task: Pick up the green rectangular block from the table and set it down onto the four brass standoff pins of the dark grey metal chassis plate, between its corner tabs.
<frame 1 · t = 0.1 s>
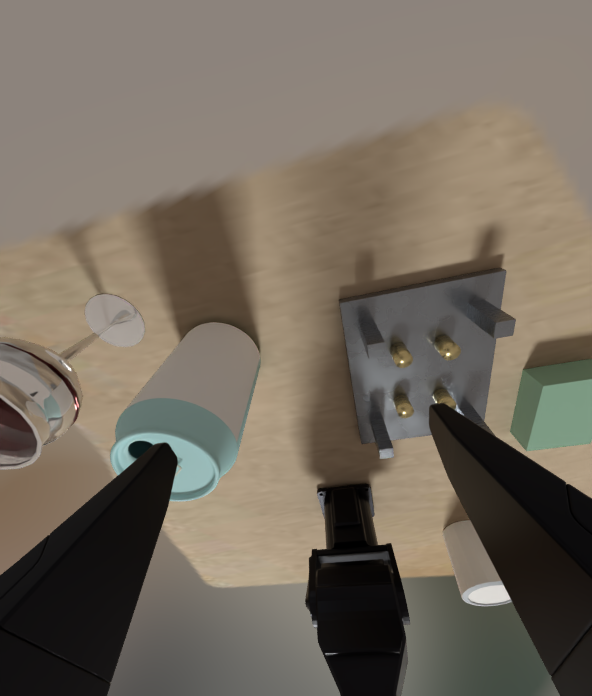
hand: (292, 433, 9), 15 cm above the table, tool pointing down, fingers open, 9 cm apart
green rectangular block: (544, 396, 27), on the table
can: (223, 353, 25), on the table
wineglass: (116, 320, 24), on the table
chassis: (417, 368, 25), on the table
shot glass: (463, 529, 39), on the table
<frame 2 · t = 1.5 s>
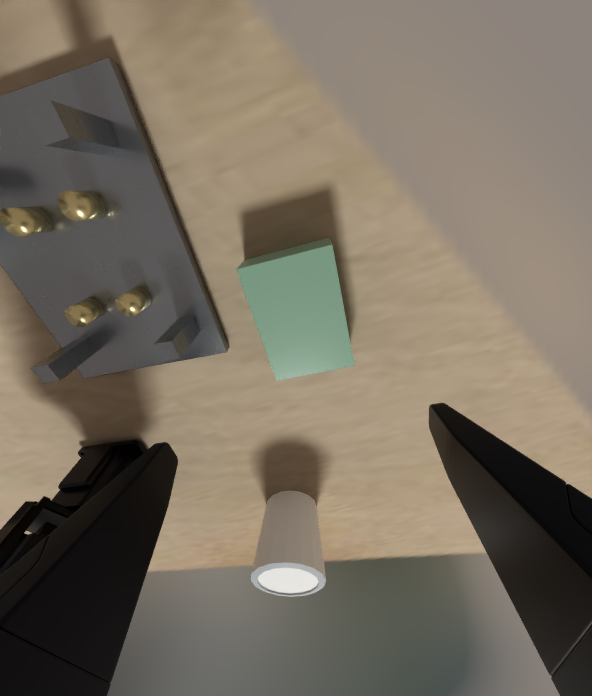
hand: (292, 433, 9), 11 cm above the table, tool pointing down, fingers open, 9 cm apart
green rectangular block: (301, 305, 20), on the table
chassis: (101, 258, 18), on the table
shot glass: (291, 504, 31), on the table
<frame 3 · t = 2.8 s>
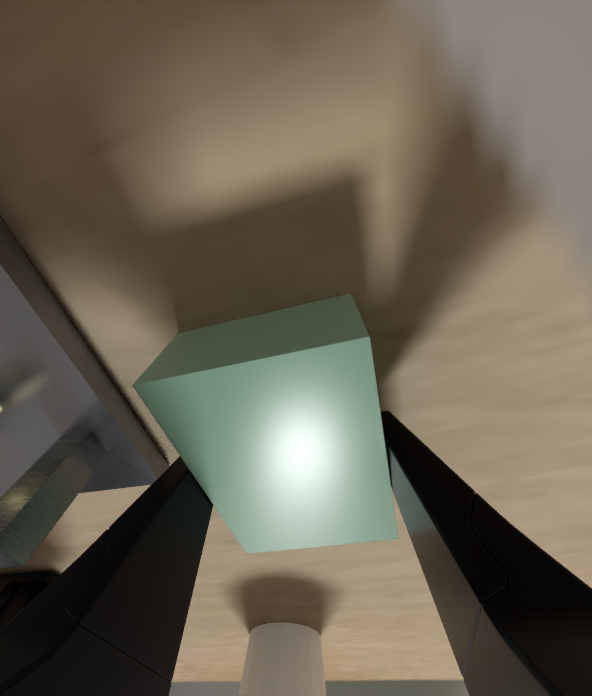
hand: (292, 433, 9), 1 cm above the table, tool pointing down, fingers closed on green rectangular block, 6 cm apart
green rectangular block: (293, 409, 10), on the table, touching gripper
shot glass: (285, 632, 22), on the table
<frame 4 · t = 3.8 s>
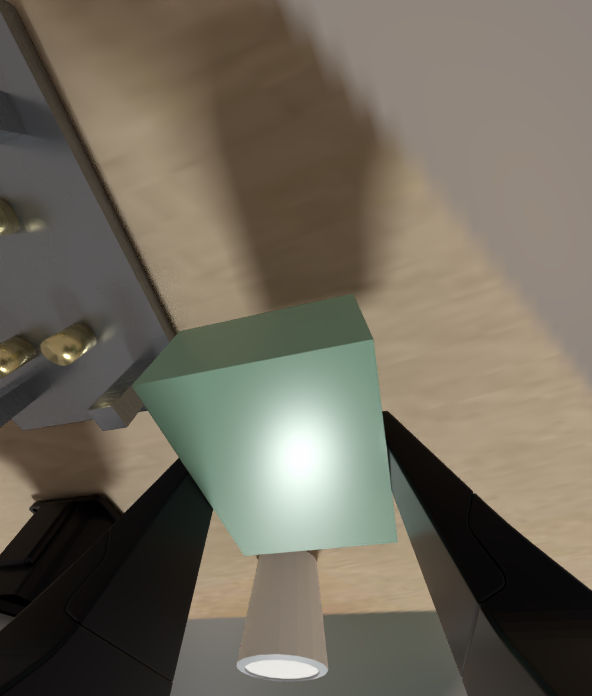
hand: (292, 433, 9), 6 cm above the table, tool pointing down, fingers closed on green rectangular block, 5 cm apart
green rectangular block: (293, 410, 10), point 5 cm above the table, touching gripper
chassis: (27, 285, 14), on the table
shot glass: (287, 559, 27), on the table
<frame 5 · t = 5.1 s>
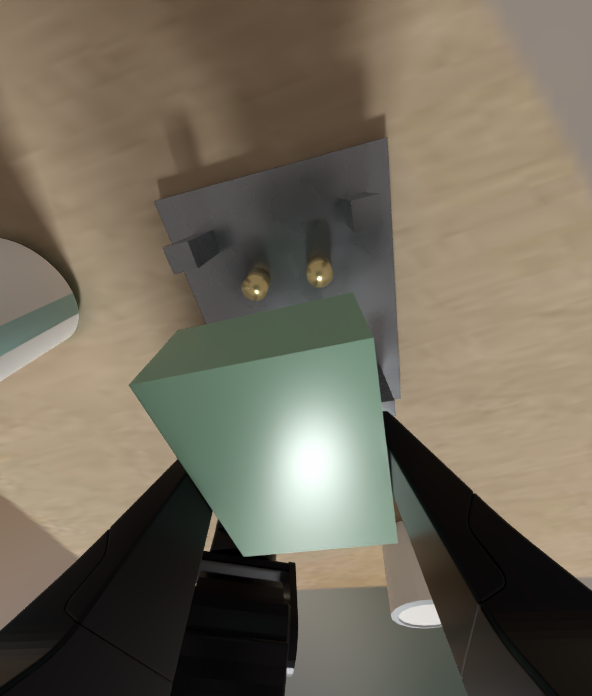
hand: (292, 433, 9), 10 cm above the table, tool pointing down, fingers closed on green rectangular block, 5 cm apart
green rectangular block: (293, 410, 10), point 9 cm above the table, touching gripper
can: (32, 291, 18), on the table
chassis: (298, 311, 18), on the table
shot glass: (405, 532, 32), on the table
when the fingers open (4 cm above the table, at t = 6.9 s): green rectangular block stays where it is, resting on chassis.
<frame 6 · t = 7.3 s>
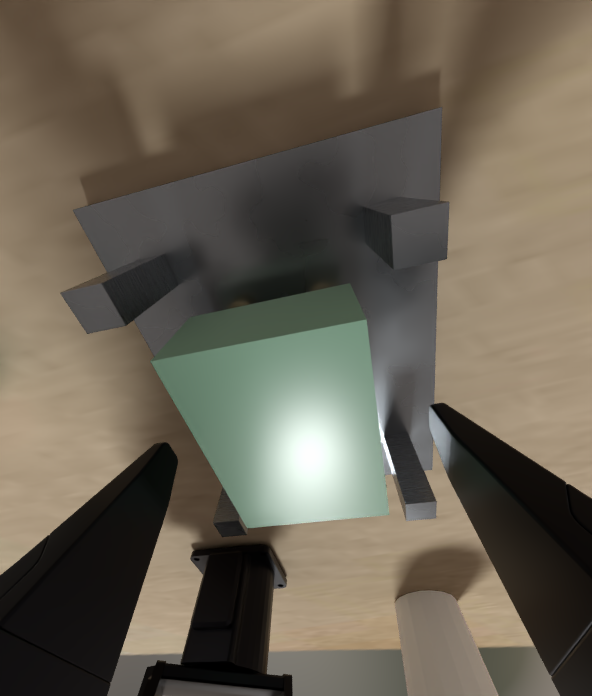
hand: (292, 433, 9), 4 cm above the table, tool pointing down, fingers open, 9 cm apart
green rectangular block: (294, 393, 11), point 2 cm above the table, touching chassis
chassis: (296, 361, 13), on the table
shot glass: (424, 600, 27), on the table
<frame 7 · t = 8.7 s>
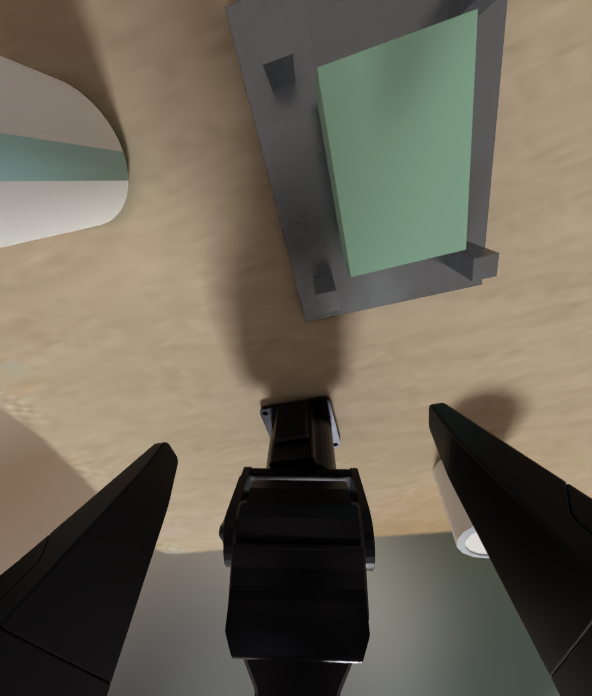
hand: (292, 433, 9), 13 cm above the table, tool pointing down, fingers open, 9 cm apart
green rectangular block: (385, 172, 14), point 2 cm above the table, touching chassis
can: (75, 160, 16), on the table
chassis: (375, 173, 16), on the table
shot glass: (459, 466, 30), on the table
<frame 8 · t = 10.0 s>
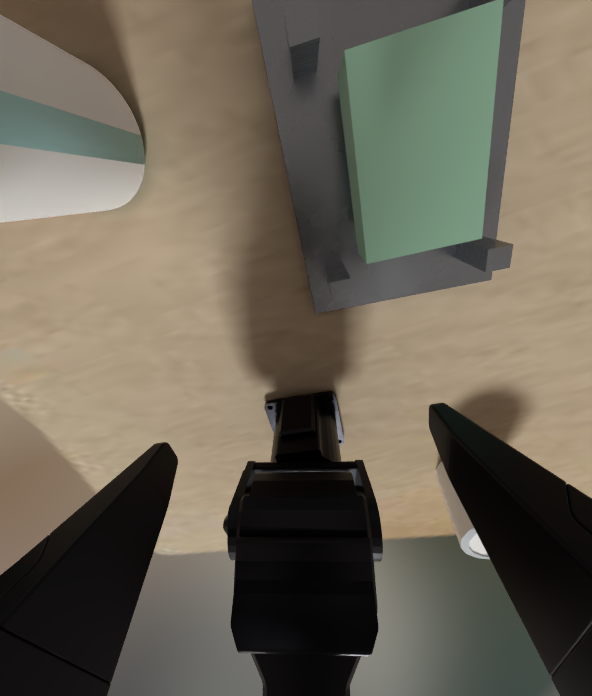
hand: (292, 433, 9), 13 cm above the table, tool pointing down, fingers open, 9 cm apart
green rectangular block: (402, 162, 14), point 2 cm above the table, touching chassis
can: (91, 143, 16), on the table
chassis: (390, 165, 16), on the table
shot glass: (462, 467, 30), on the table
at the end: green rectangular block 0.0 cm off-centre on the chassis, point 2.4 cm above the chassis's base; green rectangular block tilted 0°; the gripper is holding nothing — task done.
